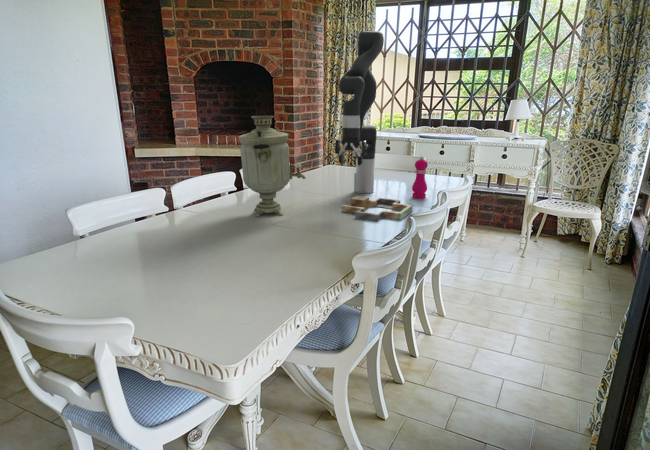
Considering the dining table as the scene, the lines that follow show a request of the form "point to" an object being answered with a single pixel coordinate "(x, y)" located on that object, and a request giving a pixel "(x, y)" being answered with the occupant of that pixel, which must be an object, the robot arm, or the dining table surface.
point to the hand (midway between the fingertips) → (350, 164)
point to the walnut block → (360, 202)
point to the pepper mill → (420, 179)
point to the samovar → (266, 163)
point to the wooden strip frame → (386, 214)
